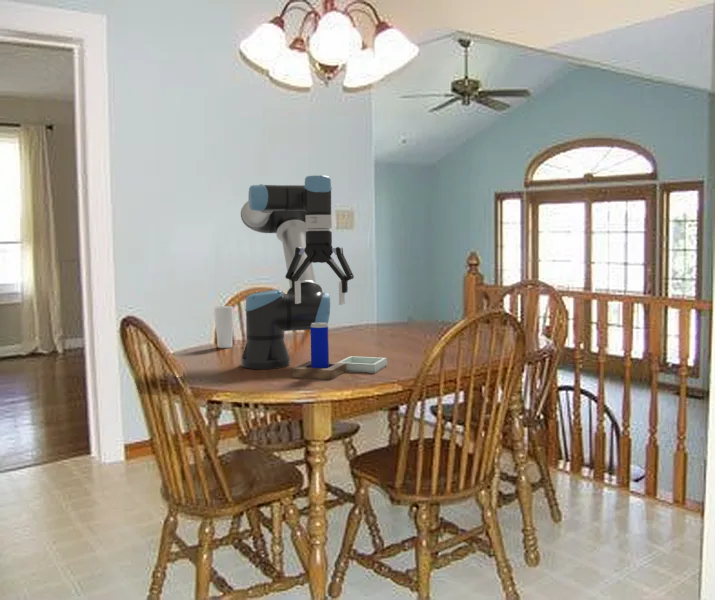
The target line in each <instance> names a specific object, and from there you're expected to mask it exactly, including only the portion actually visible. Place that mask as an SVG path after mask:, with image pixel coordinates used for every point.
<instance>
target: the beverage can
mask: <svg viewBox="0 0 715 600" xmlns="http://www.w3.org/2000/svg"><path fill="white" fill-rule="evenodd" d="M328 324H329V323H328ZM328 324H327V323H325V322H316V323H311V327H310V328H311V330H310V361H311V368H329V362H330V361H329V360H330V358H329V355H330V354H329V353H330V350H329V325H328Z"/></svg>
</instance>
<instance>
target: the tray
mask: <svg viewBox="0 0 715 600" xmlns="http://www.w3.org/2000/svg"><path fill="white" fill-rule="evenodd" d="M336 363H346V372H347V373H348V372H350V373H351V372H352V373H365V372H367V373H368V374H369V373H370V374H377V372H380V371H381V370H383V369H384V368H385V366H386V365H387V366H388V358H387V357H375V356H374V357H373V356H355V355H353V356H352V355H350V356H348V357H346V358H343V359H342V360H339V361H338V362H336ZM387 366H386V367H387ZM383 367H384V368H383ZM382 368H383V369H382ZM380 369H381V370H380Z"/></svg>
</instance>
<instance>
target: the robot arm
mask: <svg viewBox="0 0 715 600" xmlns="http://www.w3.org/2000/svg"><path fill="white" fill-rule="evenodd" d="M331 181H332V180H331V177H330V176H328V175H320V174H318V175H316V174H314V175H308V176H307V175H306V176H305V178H304V184H303V185H302V184H301V185H299V184H296V185H293V184H290V185H288V184H287V185H285V184H284V185H280V184H279V185H278V184H277V185H276V184H273V185H272V184H253V185H250V186H249V188H248V200H247V201H246V202H245V203H243V206H242V207H241V209H240V218H241V221H242V223H243V224H244V225H245V226H246V227H247V228H249V229H250V230H252V231H255V232H257V233H260V234H261V233H262V234H276V237H277V239H278V240H279V241H280V242H282V243H281V244H282V249H283V255H284V260H285V265H286V270H287V271H286V273H285V279H287V280H288V284H289V288H288V290H287V292H286V293H284V291H283V289H273V290H272V289H271V290H270V289H269V290H264V291H263V290H262V291H257V292H253V293H251V294H249V295H247V296H246V298H245V308H244V311H245V322H246V323H245V327H246V328H245V329H246V330H245V331H246V332H245V333H246V341H245V346H244V349H243V352H242V356H241V367H242V368H245V369H249V370H250V369H251V370H252V369H253V370H268V369H269V370H270V369H280V368H284V367H285V368H286V367H288V366H290V365H291V359H290V358H291V357H290V354H289V351H288V349H287V345H286V343H285V338H284V337H285V333H284V332H289V331H290V332H291V331H311V328H310V327H311V323H316V322H325V323H327V324H329V320H330V313H331V296H330V294H329V293H328V292H325V291H324V292H323V288H322V287H321V285H320V283H319V284H318V283H317V282H316V281H317V280H316V276H315V271H314V267H313V263H314V264H315V263H321V264H324V263H326V264H327V265H328V266H329V267H330V268H331V270H332V271H333V272H334V274H336V276H337V277H338V278H339V280H340V281H338V305H339V306H340V305H341V306H342V305H345V304H346V303H345V302H346V301H345V295H346V293H348V289H349V287H348V282H349V281H350V280H353V279H354V278H355V275H354V274H353V272H352V269H351V268H350V265H349V263H348V262H347V259H346V257H345V255H344V249H343V246H336V247H333V235H332V230H331V229H332V228H333V227H332V223H333V222H332V188H333V187H332V182H331ZM333 253H334V254H335V256H336V258H337V260H338V262H339V264H340V266H341V268H342V269H341V268H340V266H338V264H337V263H336V261H335V259H334V258H333V255H332V254H333Z"/></svg>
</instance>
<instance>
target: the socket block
mask: <svg viewBox="0 0 715 600" xmlns="http://www.w3.org/2000/svg"><path fill="white" fill-rule="evenodd" d="M346 372H347V371H346V363H337V362H334V361H333V362H332V361H331V362H330V361H329V368H311V360H310V361H309V360H308V361H307V362H304V363H302V364H300V365H298V366H295V367H293V368H292V377H293V378H305V379H321V380H334V379H335V378H337V377H339V376H341V375H342V374H344V373H346Z"/></svg>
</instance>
